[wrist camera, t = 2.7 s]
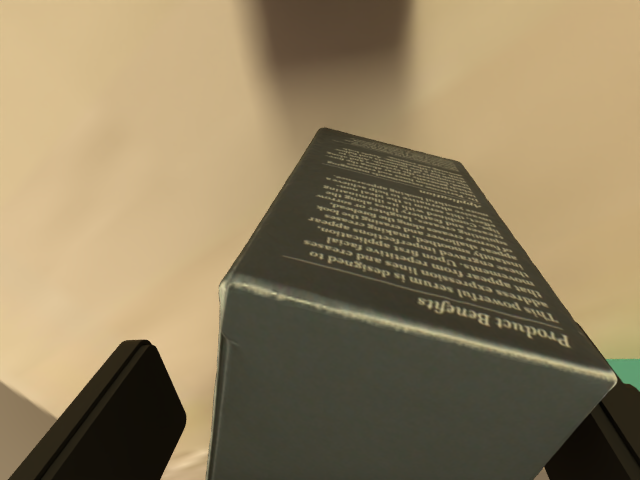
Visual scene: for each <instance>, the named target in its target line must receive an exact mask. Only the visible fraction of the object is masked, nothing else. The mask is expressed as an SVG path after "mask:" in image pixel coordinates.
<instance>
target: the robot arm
mask: <svg viewBox="0 0 640 480" xmlns="http://www.w3.org/2000/svg"><path fill="white" fill-rule="evenodd" d="M576 324H577V325H578V326H579V328H580V329H581V330H582V331H583V333H584V334H585V335H586V337H587V338H588V339H589V341H590V342H591V343H592V345H593V346H594V347H595V348H596V349H597V347H596V346H595V345H594V343H593V342H592V341H591V340H590V338H589V337H588V336H587V334H586V333H585V332H584V330H583V329H582V328H581V326H580V325H579V324H578V323H577V322H576ZM597 351H598V352H599V353H600V351H599V350H598V349H597ZM600 354H601V353H600ZM601 356H602V357H603V355H602V354H601ZM603 358H604V357H603ZM604 360H605V361H606V359H605V358H604ZM606 362H607V361H606ZM607 364H608V365H609V363H608V362H607ZM609 366H610V365H609ZM610 368H611V369H612V367H611V366H610ZM612 370H613V369H612ZM613 372H614V373H615V371H614V370H613ZM615 375H616V377H617V383H616V385H615V386H614V387H613V388H612V389H611V390H610V391H609V392H608V393H607V394H606V395H605V396H604V397H603V398H602V400H601V401H600V402H599V403H598V404H597V405H596V406H595V408H594V409H593V410H592V411H591V412H590V413H589V414H588V416H587V417H586V418H585V419H584V420H583V421H582V422H581V424H580V425H579V426H578V427H577V428H576V430H575V431H574V432H573V433H572V434H571V435H570V437H569V438H568V439H567V440H566V441H565V443H564V444H563V445H562V446H561V447H560V449H559V450H558V451H557V452H556V453H555V454H554V455H553V457H552V458H551V459H550V460H549V461H548V462H547V463H546V465H545V466H544V467H545V470H546V472H547V474H548V477H549V479H550V480H640V391H639V390H638V389H637V388H636V387H634V386H632V385H631V384H625V383H623V382H622V380H621V379H620V378H619V377H618V375H617V374H616V373H615ZM185 425H186V413H185V411H184V408H183V406H182V404H181V402H180V399H179V397H178V395H177V393H176V390H175V388H174V386H173V384H172V381H171V379H170V377H169V375H168V372H167V370H166V368H165V366H164V363H163V361H162V359H161V357H160V354H159V352H158V350H157V348H156V346H154V345H152V344H151V343H150V341H148V340H126V341H124V342H122V343H121V344H120V345H119V346H118V347H117V349H116V350H115V351H114V352H113V353H112V355H111V356H110V357H109V358H108V359H107V361H106V362H105V363H104V364H103V365H102V367H101V368H100V369H99V370H98V372H97V373H96V374H95V375H94V376H93V378H92V379H91V380H90V381H89V382H88V384H87V385H86V386H85V387H84V388H83V390H82V391H81V392H80V393H79V395H78V396H77V397H76V398H75V399H74V401H73V402H72V403H71V404H70V405H69V407H68V408H67V409H66V410H65V411H64V413H63V414H62V415H61V416H60V417H59V419H58V420H57V421H56V422H55V424H54V425H53V426H52V427H51V428H50V430H49V431H48V432H47V433H46V434H45V436H44V437H43V438H42V439H41V440H40V442H39V443H38V444H37V445H36V447H35V448H34V449H33V450H32V451H31V453H30V454H29V455H28V456H27V458H26V459H25V460H24V461H23V462H22V463H21V465H20V466H19V467H18V468H17V470H16V471H15V472H14V473H13V474H12V476H11V477H10V478H9V479H8V480H160V478H161V476H162V474H163V472H164V470H165V468H166V466H167V464H168V462H169V460H170V458H171V455H172V453H173V451H174V449H175V447H176V445H177V443H178V441H179V439H180V437H181V435H182V432H183V430H184V428H185Z"/></svg>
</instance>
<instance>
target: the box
mask: <svg viewBox="0 0 640 480" xmlns="http://www.w3.org/2000/svg"><path fill="white" fill-rule="evenodd" d="M219 301H220V322H219V340H218V356H217V373H216V380H215V389H214V400H213V416H212V429H211V439H210V445H209V454H208V461H207V471H206V480H533V479H534V478H535V477H536V476H537V475H538V474H539V472H540V471H541V470H542V469H543V467H544V466H545V465H546V463H547V462H548V461H549V460H550V459H551V458H552V457H553V455H554V454H555V453H556V452H557V451H558V450H559V449H560V447H561V446H562V445H563V444H564V443H565V441H566V440H567V439H568V438H569V437H570V435H571V434H572V433H573V432H574V431H575V430H576V428H577V427H578V426H579V425H580V424H581V422H582V421H583V420H584V419H585V418H586V417H587V416H588V414H589V413H590V412H591V411H592V410H593V409H594V408H595V406H596V405H597V404H598V403H599V402H600V401H601V400H602V398H603V397H604V396H605V395H606V394H607V393H608V392H609V391H610V390H611V389H612V388H613V387H614V386H615V385H616V383H617V377H616V375H615V373H614V372H613V370H612V369H611V368H610V366H609V365H608V364H607V362H606V361H605V360H604V358H603V357H602V356H601V354H600V353H599V352H598V351H597V349H596V348H595V347H594V346H593V345H592V343H591V342H590V341H589V339H588V338H587V337H586V335H585V334H584V333H583V331H582V330H581V329H580V328H579V326H578V325H577V324H576V322H575V321H574V320H573V318H572V316H571V315H570V313H569V312H568V310H567V309H566V308H565V307H564V305H563V304H562V303H561V301H560V300H559V298H558V297H557V296H556V294H555V293H554V291H553V290H552V288H551V287H550V285H549V284H548V283H547V282H546V280H545V279H544V277H543V276H542V275H541V273H540V272H539V270H538V269H537V267H536V266H535V265H534V264H533V263H532V261H531V260H530V258H529V257H528V255H527V253H526V252H525V250H524V249H523V248H522V247H521V245H520V244H519V243H518V241H517V240H516V239H515V237H514V236H513V234H512V233H511V232H510V230H509V229H508V227H507V226H506V225H505V223H504V222H503V221H502V219H501V218H500V217H499V215H498V214H497V212H496V211H495V209H494V208H493V206H492V205H491V204H490V202H489V201H488V200H487V199H486V197H485V195H484V194H483V193H482V192H481V190H480V188H479V187H478V186H477V184H476V183H475V181H474V180H473V178H472V177H471V176H470V175H469V173H468V172H467V170H466V169H465V168H464V166H463V165H462V164H461V163H460V162H458V161H454V160H450V159H446V158H441V157H438V156H434V155H430V154H426V153H423V152H418V151H413V150H411V149H407V148H403V147H399V146H395V145H391V144H387V143H383V142H379V141H376V140H371V139H367V138H364V137H359V136H355V135H351V134H348V133H344V132H340V131H337V130H332V129H328V128H320V129H319V130H318V131H317V133H316V135H315V136H314V138H313V140H312V142H311V143H310V144H309V146H308V148H307V149H306V151H305V153H304V154H303V156H302V158H301V159H300V161H299V163H298V164H297V165H296V167H295V169H294V170H293V172H292V173H291V175H290V176H289V178H288V179H287V181H286V182H285V184H284V186H283V188H282V189H281V191H280V192H279V194H278V195H277V197H276V198H275V200H274V201H273V203H272V204H271V206H270V208H269V209H268V211H267V213H266V214H265V216H264V217H263V219H262V220H261V222H260V223H259V225H258V226H257V228H256V230H255V231H254V233H253V234H252V236H251V238H250V239H249V241H248V243H247V244H246V245H245V247H244V248H243V250H242V252H241V253H240V255H239V256H238V257H237V259H236V260H235V262H234V263H233V265H232V266H231V268H230V269H229V271H228V273H227V274H226V275H225V277H224V278H223V280H222V281H221V282H220V285H219Z"/></svg>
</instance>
